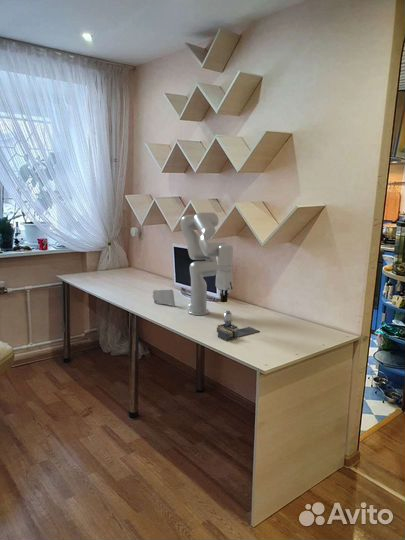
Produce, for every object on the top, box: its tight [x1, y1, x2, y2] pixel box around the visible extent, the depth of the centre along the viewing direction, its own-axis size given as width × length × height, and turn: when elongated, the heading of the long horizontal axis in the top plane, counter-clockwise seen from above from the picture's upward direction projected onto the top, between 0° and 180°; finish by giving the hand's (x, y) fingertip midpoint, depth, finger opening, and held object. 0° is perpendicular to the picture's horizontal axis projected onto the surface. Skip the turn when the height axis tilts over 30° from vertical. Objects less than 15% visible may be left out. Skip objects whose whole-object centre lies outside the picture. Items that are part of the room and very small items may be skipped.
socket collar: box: [217, 323, 238, 330], centre depth 222 cm, size 8×8×1 cm
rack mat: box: [235, 326, 260, 338], centre depth 215 cm, size 8×15×1 cm, turn 127°
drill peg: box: [223, 310, 233, 328], centre depth 222 cm, size 4×4×9 cm
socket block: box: [217, 327, 238, 342], centre depth 206 cm, size 7×7×4 cm
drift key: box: [216, 326, 233, 337], centre depth 208 cm, size 10×3×3 cm, turn 37°
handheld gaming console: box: [152, 288, 176, 307], centre depth 264 cm, size 11×3×15 cm
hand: (224, 301), depth 219 cm, fingers closed
